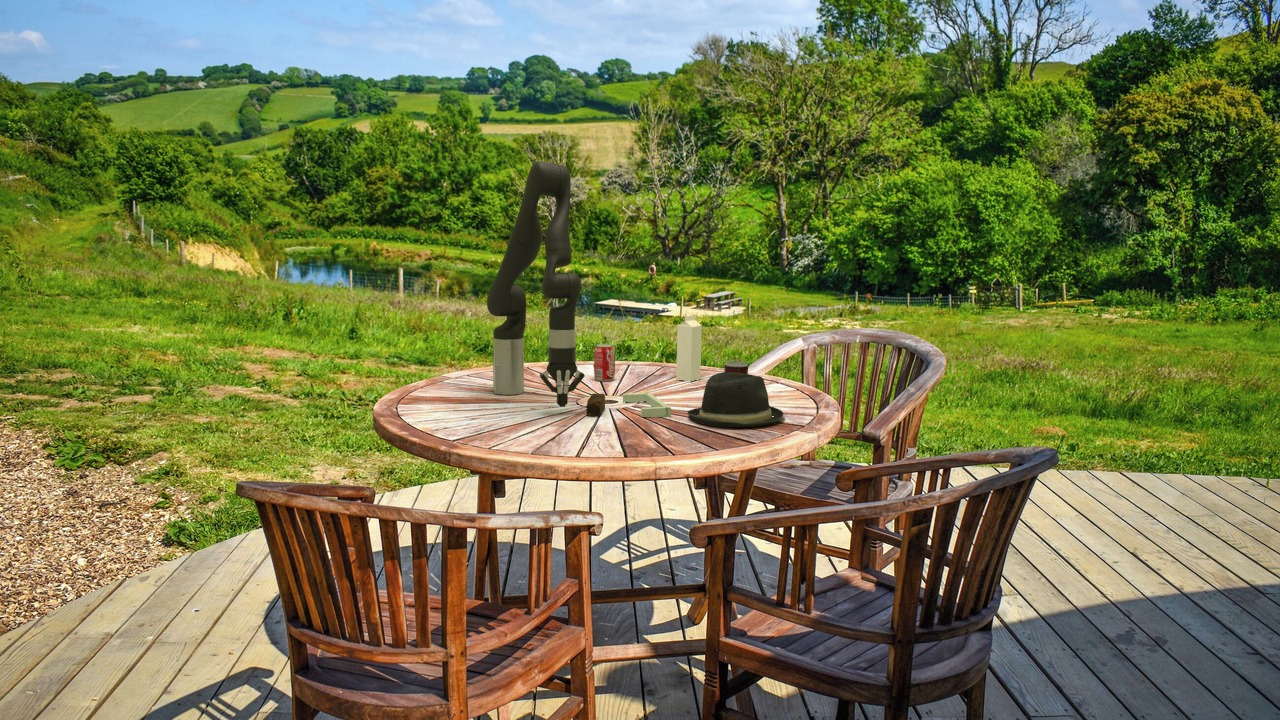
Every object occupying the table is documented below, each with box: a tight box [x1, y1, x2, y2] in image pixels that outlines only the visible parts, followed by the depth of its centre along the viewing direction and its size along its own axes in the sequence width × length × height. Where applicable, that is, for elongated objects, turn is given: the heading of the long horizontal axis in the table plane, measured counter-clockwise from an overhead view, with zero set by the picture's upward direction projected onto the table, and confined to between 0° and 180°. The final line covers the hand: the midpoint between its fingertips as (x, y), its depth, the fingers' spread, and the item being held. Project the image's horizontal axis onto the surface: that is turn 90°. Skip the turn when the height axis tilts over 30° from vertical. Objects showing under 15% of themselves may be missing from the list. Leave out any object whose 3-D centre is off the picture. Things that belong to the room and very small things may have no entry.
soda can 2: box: [723, 360, 749, 374], centre depth 257 cm, size 7×7×12 cm
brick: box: [586, 393, 606, 417], centre depth 242 cm, size 11×4×5 cm, turn 175°
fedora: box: [687, 372, 784, 429], centre depth 236 cm, size 25×27×12 cm
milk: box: [675, 315, 703, 382], centre depth 291 cm, size 6×6×22 cm
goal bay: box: [622, 392, 672, 418], centre depth 247 cm, size 8×21×2 cm, turn 16°
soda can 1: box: [593, 343, 616, 383], centre depth 289 cm, size 7×7×12 cm
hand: (562, 406), depth 240 cm, fingers closed
